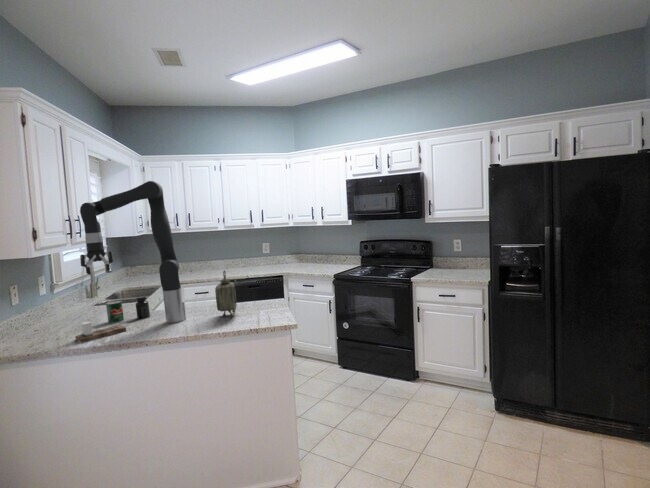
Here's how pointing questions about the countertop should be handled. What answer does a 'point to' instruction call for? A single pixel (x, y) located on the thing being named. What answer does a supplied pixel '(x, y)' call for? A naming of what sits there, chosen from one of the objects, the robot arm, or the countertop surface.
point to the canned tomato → (115, 311)
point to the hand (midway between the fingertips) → (98, 272)
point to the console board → (101, 333)
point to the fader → (87, 328)
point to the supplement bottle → (142, 308)
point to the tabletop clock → (226, 296)
